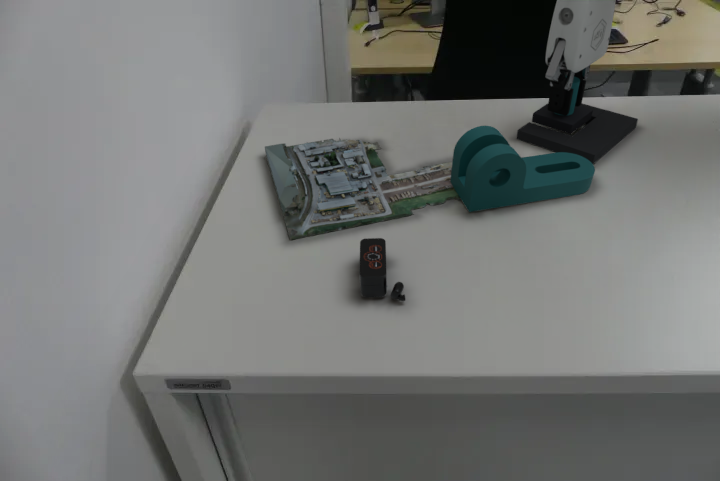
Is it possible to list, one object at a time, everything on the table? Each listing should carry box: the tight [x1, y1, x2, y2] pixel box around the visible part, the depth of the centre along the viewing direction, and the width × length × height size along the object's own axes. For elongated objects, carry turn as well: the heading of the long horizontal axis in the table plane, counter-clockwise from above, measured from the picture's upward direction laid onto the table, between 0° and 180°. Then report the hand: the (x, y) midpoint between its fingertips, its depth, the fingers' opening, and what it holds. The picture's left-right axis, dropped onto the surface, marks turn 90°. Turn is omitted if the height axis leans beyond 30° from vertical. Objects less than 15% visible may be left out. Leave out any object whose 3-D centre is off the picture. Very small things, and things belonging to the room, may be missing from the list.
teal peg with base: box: [531, 75, 593, 135], centre depth 83 cm, size 6×6×6 cm
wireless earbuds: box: [358, 237, 406, 302], centre depth 60 cm, size 5×7×3 cm, turn 179°
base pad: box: [516, 103, 639, 165], centre depth 84 cm, size 14×12×2 cm
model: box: [264, 137, 461, 241], centre depth 78 cm, size 21×30×2 cm
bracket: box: [450, 125, 596, 213], centre depth 71 cm, size 18×7×8 cm, turn 103°
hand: (564, 107), depth 84 cm, fingers closed on teal peg with base, 3 cm apart
